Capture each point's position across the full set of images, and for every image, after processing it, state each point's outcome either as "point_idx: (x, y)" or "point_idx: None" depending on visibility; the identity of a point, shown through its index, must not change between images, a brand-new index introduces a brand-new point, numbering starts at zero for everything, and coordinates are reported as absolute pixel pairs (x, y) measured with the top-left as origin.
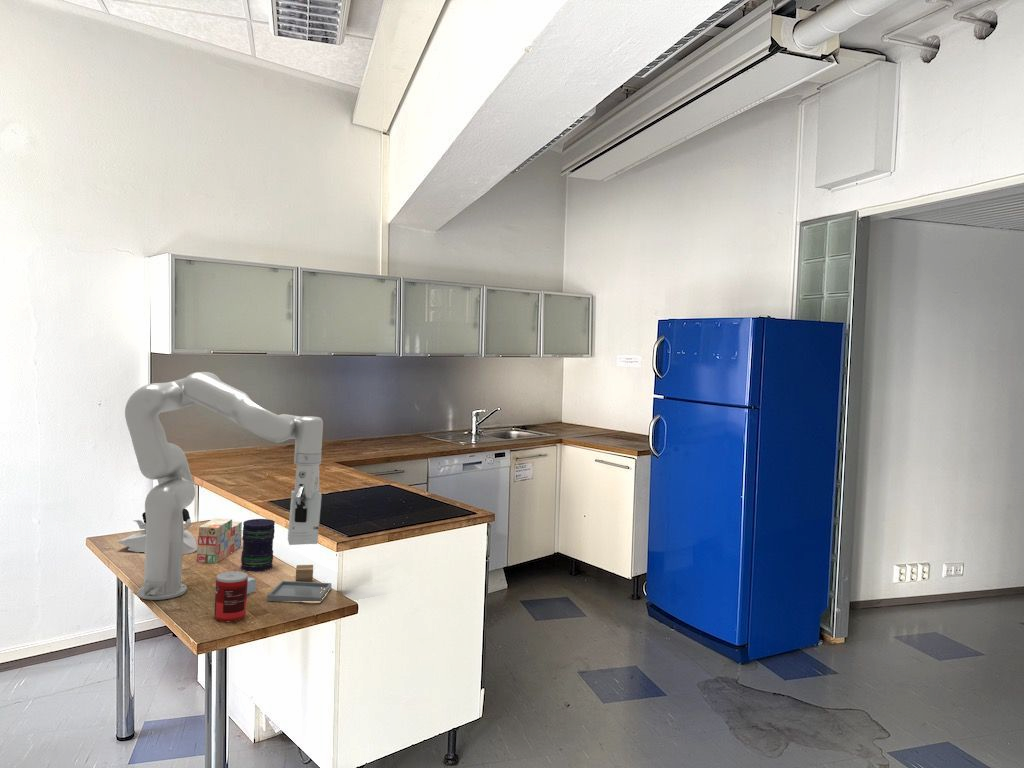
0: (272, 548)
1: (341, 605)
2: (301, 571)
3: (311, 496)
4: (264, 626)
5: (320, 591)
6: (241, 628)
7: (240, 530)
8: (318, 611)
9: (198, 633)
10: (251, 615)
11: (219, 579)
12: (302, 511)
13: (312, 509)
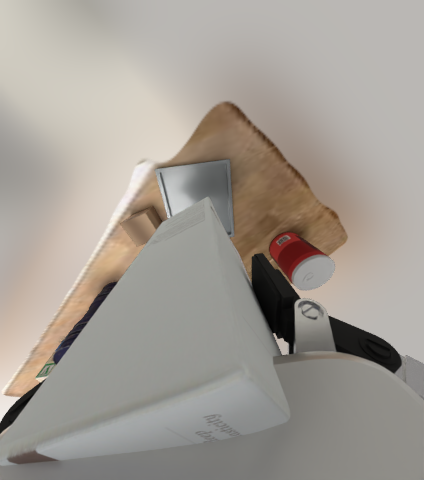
0: (96, 304)
1: (226, 118)
2: (156, 228)
3: (391, 389)
4: (312, 198)
5: (186, 177)
6: (316, 219)
7: (48, 363)
8: (258, 149)
9: (326, 249)
10: (278, 228)
11: (327, 280)
12: (296, 296)
13: (241, 276)
